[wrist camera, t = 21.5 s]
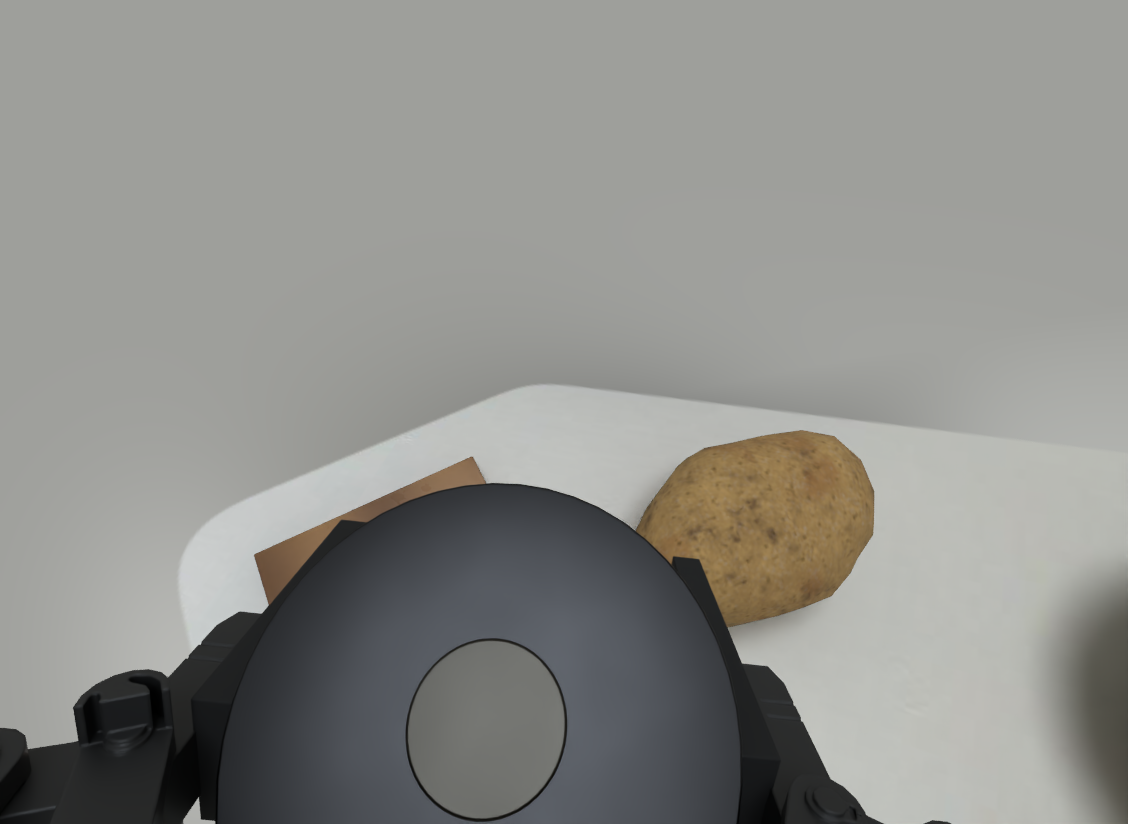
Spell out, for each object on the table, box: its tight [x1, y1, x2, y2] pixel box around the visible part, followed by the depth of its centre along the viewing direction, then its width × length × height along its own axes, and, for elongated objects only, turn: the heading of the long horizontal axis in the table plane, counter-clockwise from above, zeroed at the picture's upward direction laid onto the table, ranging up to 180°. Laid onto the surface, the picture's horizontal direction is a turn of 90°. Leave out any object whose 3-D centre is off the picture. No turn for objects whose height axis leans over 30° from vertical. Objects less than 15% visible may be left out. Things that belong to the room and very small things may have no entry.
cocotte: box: [215, 483, 743, 824], centre depth 13 cm, size 9×9×10 cm
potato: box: [636, 430, 874, 627], centre depth 31 cm, size 10×14×8 cm
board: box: [254, 457, 486, 605], centre depth 31 cm, size 13×12×2 cm
